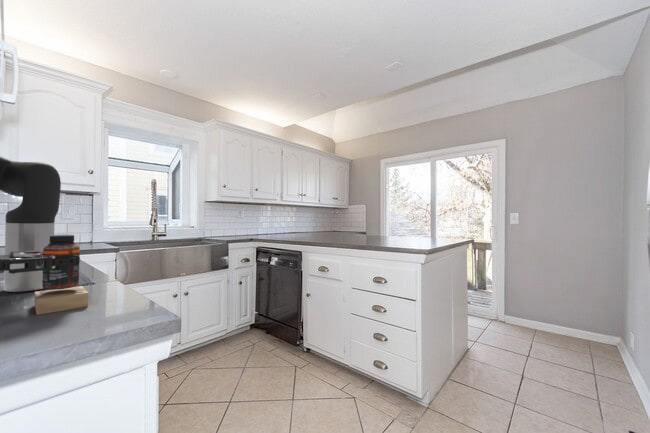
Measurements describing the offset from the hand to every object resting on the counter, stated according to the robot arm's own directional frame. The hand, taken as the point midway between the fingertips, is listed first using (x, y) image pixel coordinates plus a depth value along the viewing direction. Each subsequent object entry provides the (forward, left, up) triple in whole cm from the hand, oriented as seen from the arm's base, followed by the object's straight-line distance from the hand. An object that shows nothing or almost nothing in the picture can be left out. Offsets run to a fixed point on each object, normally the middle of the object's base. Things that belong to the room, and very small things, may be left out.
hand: (76, 258), depth 66 cm
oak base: (0, -2, -10) cm, 10 cm away
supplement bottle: (0, -3, -6) cm, 7 cm away
